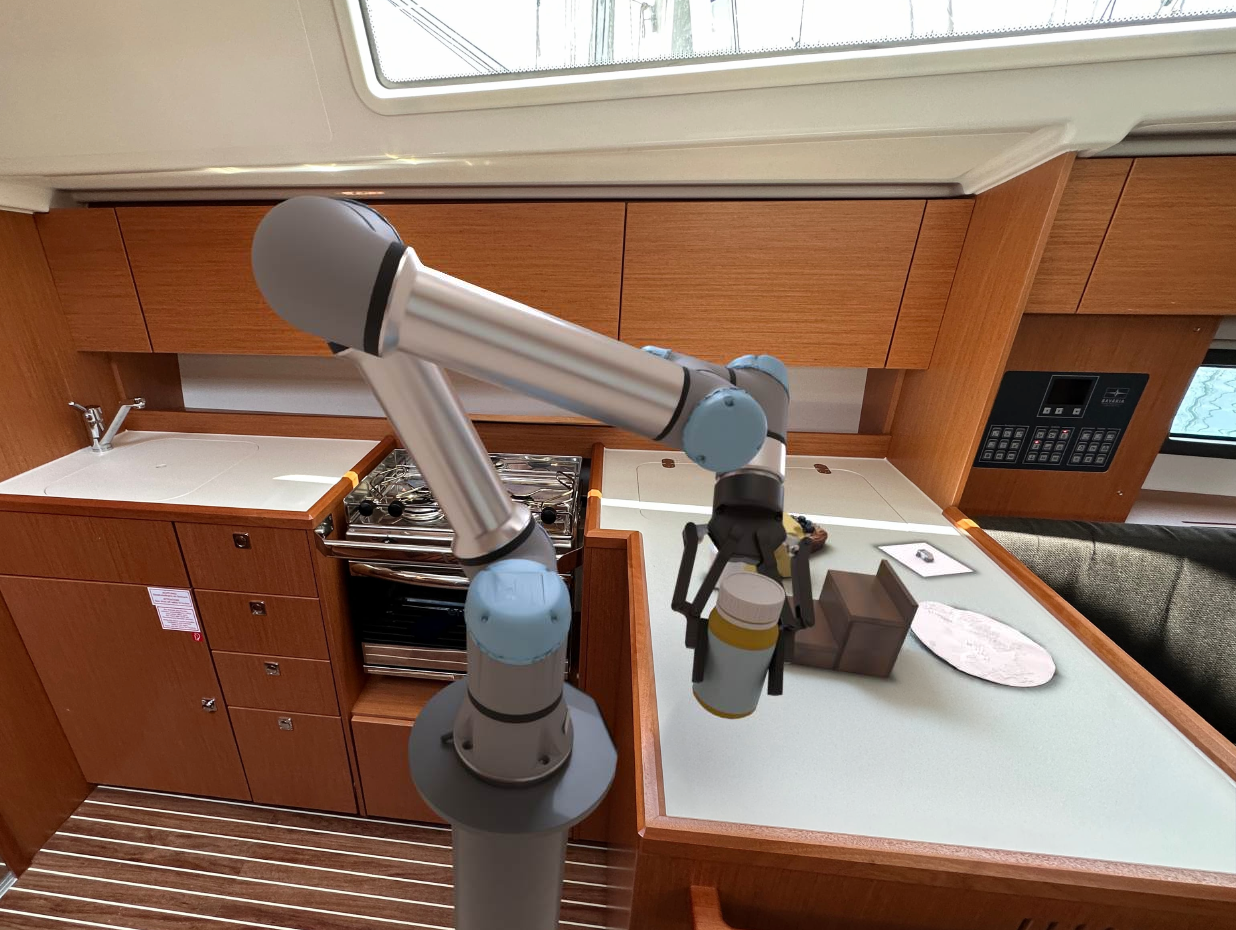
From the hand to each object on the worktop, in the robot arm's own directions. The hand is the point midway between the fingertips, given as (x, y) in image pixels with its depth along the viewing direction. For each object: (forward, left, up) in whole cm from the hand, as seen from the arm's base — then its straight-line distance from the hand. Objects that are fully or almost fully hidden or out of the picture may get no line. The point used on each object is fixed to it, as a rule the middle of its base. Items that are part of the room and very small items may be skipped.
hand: (735, 687), depth 60 cm
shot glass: (+6, +48, -16) cm, 52 cm away
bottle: (0, +3, -5) cm, 6 cm away
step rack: (+20, +33, -16) cm, 42 cm away
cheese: (+14, +56, -16) cm, 61 cm away
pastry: (+22, +68, -16) cm, 74 cm away
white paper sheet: (+48, +68, -16) cm, 85 cm away
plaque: (+45, +39, -16) cm, 62 cm away
